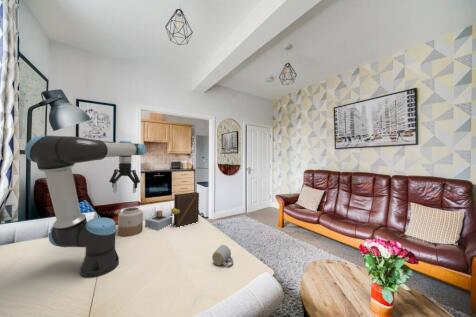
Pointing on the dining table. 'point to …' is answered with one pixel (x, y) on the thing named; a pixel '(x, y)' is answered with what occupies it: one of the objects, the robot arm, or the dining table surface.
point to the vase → (130, 222)
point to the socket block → (158, 222)
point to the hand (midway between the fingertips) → (124, 192)
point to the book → (186, 208)
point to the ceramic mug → (222, 256)
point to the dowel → (158, 214)
